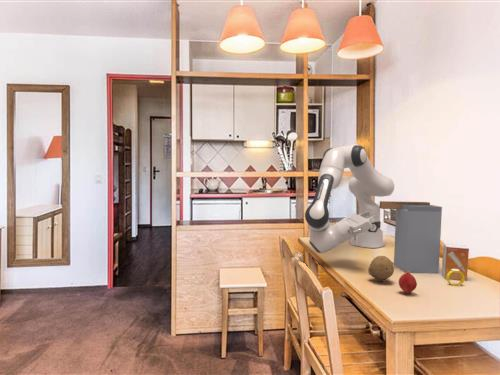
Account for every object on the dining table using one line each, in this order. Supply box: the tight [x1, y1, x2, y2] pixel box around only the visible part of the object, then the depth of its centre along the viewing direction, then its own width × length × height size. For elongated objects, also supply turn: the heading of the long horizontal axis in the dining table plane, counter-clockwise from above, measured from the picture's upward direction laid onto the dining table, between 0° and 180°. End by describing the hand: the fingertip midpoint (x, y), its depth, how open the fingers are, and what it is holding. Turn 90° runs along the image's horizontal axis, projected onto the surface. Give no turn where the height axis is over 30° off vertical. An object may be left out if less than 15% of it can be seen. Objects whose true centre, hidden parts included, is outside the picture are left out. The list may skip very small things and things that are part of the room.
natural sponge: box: [367, 255, 395, 282], centre depth 141 cm, size 9×9×10 cm
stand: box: [393, 204, 443, 274], centre depth 159 cm, size 12×14×28 cm
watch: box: [446, 269, 464, 286], centre depth 139 cm, size 6×3×6 cm, turn 87°
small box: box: [441, 243, 470, 282], centre depth 148 cm, size 8×6×13 cm
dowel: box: [379, 200, 431, 210], centre depth 161 cm, size 3×21×3 cm, turn 92°
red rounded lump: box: [398, 271, 418, 294], centre depth 129 cm, size 6×6×8 cm
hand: (372, 214), depth 161 cm, fingers open, 8 cm apart
